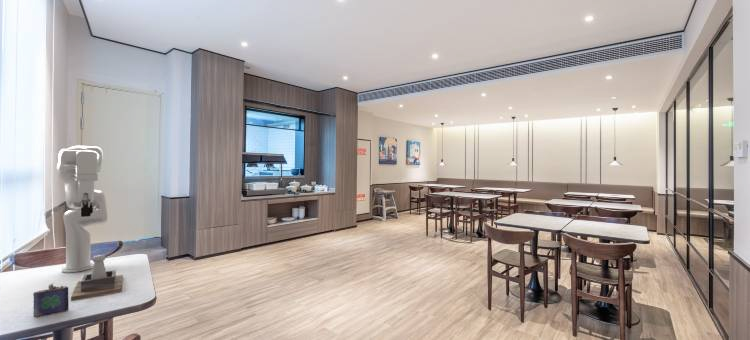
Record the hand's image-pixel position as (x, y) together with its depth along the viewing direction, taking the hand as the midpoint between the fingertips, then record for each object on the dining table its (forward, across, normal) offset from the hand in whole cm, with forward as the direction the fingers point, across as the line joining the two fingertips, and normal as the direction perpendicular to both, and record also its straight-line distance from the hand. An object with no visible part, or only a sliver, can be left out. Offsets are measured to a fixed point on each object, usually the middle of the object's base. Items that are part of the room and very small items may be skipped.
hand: (87, 214), depth 151 cm
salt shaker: (+30, +11, +5) cm, 33 cm away
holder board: (+31, +11, +5) cm, 34 cm away
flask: (+31, +33, -7) cm, 46 cm away
